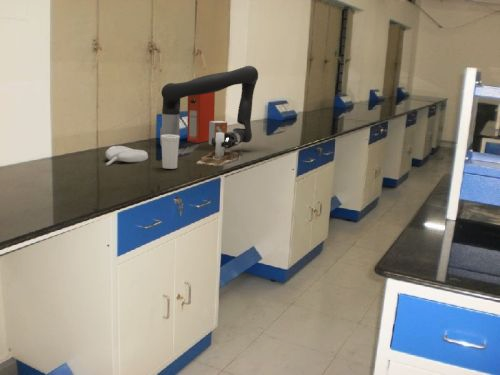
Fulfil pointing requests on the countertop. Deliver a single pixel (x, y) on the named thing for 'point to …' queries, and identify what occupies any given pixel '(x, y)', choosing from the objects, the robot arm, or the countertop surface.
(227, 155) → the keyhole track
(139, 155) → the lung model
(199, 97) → the file binder
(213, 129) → the small box
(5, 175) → the countertop surface
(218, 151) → the post
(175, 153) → the cup
